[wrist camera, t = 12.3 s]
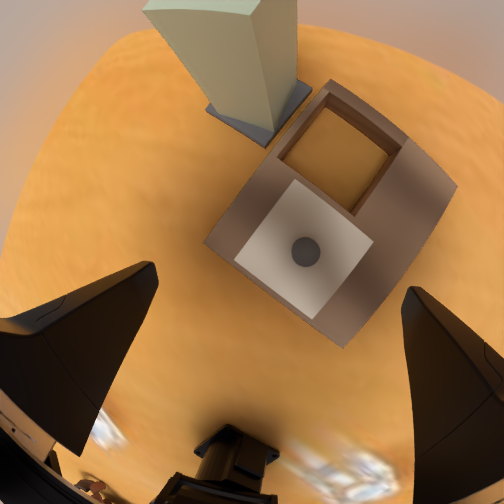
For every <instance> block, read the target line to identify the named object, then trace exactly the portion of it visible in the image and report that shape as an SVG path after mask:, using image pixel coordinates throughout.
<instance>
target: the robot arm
mask: <svg viewBox="0 0 504 504" xmlns="http://www.w3.org/2000/svg"><path fill="white" fill-rule="evenodd" d="M158 284H159V280H158V276H157V272H156V267H155V264H154V263H153V262H150V261H142V262H139V263H137V264H134V265H132V266H130V267H127V268H125V269H123V270H120V271H118V272H116V273H113V274H111V275H109V276H106V277H104V278H102V279H99V280H97V281H95V282H93V283H90V284H88V285H86V286H84V287H81V288H79V289H77V290H75V291H72V292H70V293H68V294H67V295H63V296H61V297H59V298H57V299H55V300H52V301H50V302H48V303H45V304H43V305H41V306H38V307H36V308H33V309H31V310H28V311H26V312H23V313H21V314H18V315H16V316H13V317H9V318H0V500H1V501H2V502H3V503H4V504H102V503H101V502H99V501H97V500H96V499H94V498H92V497H91V496H89V495H87V494H86V493H84V492H83V491H81V490H80V489H78V488H77V487H75V486H74V485H72V484H71V483H69V482H68V481H67V480H65V479H64V478H63V477H62V474H61V470H60V466H59V462H58V458H57V454H56V452H55V451H54V450H53V447H54V445H55V444H56V442H58V443H59V444H61V445H62V446H64V447H65V448H66V449H68V450H69V451H71V452H72V453H74V454H75V455H77V456H78V457H80V456H81V454H82V452H83V449H84V447H85V444H86V442H87V439H88V437H89V435H90V432H91V430H92V427H93V425H94V423H95V420H96V418H97V416H98V413H99V410H100V409H101V406H102V404H103V402H104V400H105V398H106V395H107V393H108V391H109V389H110V387H111V385H112V382H113V380H114V378H115V376H116V374H117V372H118V370H119V368H120V366H121V364H122V362H123V360H124V358H125V356H126V354H127V352H128V350H129V348H130V346H131V344H132V342H133V340H134V338H135V336H136V334H137V332H138V330H139V329H140V327H141V325H142V323H143V321H144V319H145V317H146V314H147V312H148V309H149V307H150V305H151V302H152V300H153V297H154V295H155V293H156V290H157V288H158ZM401 316H402V326H403V338H404V349H405V356H406V362H407V369H408V376H409V383H410V391H411V400H412V411H413V425H414V448H415V463H414V493H413V504H504V358H503V357H502V356H500V355H499V354H498V353H497V352H496V351H495V350H494V349H493V348H492V347H491V346H490V345H488V344H487V343H486V342H484V340H483V339H482V338H481V337H480V336H479V335H477V334H476V333H475V332H474V331H473V330H472V329H471V328H470V327H468V326H467V325H466V324H465V323H464V322H463V321H461V320H460V319H459V318H458V317H457V316H456V315H454V314H453V313H452V312H451V311H450V310H448V309H447V308H446V307H445V306H444V305H442V304H441V303H440V302H439V301H437V300H436V299H435V298H434V297H433V296H431V295H430V294H429V293H428V292H426V291H425V290H424V289H422V288H421V287H418V286H410V287H409V288H408V290H407V293H406V295H405V298H404V301H403V303H402V307H401ZM228 429H229V430H228ZM194 453H195V454H196V455H197V456H199V457H201V458H203V459H202V462H201V464H200V467H199V469H198V471H197V474H196V476H195V478H191V477H188V476H185V475H183V474H182V473H179V472H176V473H175V475H174V476H173V477H171V478H170V479H169V480H168V482H167V484H166V485H165V486H164V488H163V489H162V491H161V492H160V493H159V495H158V496H157V497H155V498H154V499H153V500H152V501H151V502H150V503H149V504H278V497H277V495H273V494H271V495H267V494H260V492H261V486H262V480H263V477H264V475H265V468H266V465H268V464H269V463H271V462H273V461H274V460H276V459H277V458H279V456H280V452H279V451H277V450H275V449H273V448H271V447H269V446H267V445H265V444H263V443H261V442H260V441H258V440H256V439H254V438H252V437H251V436H249V435H247V434H245V433H243V432H242V431H240V430H238V429H237V428H235V427H233V426H232V425H229V424H226V425H224V426H223V427H221V428H220V429H219V430H218V431H217V432H215V433H214V434H213V435H212V436H210V437H209V438H208V439H207V440H205V441H204V442H203V443H201V444H200V445H199V446H197V447H196V448H195V450H194ZM274 454H275V455H274Z"/></svg>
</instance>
